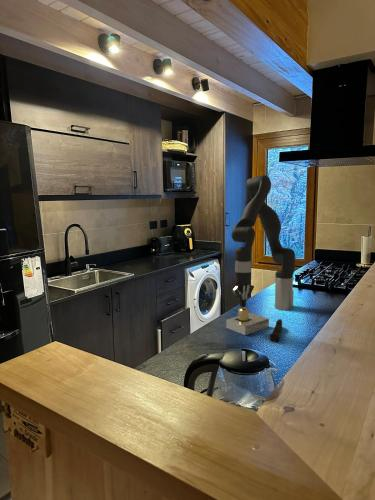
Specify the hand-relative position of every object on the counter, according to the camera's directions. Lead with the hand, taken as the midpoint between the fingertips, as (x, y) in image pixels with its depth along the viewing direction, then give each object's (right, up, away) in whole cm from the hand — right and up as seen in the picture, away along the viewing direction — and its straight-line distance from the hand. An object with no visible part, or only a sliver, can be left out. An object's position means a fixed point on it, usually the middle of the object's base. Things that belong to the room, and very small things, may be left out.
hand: (242, 306), depth 162 cm
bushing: (0, -10, +1) cm, 10 cm away
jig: (+3, -10, +2) cm, 10 cm away
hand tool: (+14, -11, -7) cm, 19 cm away
